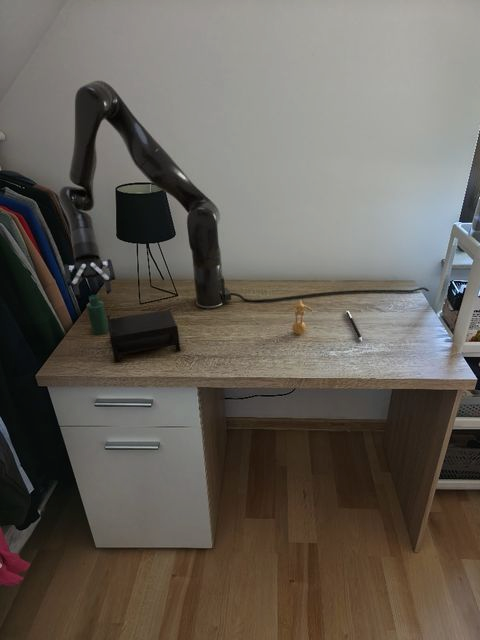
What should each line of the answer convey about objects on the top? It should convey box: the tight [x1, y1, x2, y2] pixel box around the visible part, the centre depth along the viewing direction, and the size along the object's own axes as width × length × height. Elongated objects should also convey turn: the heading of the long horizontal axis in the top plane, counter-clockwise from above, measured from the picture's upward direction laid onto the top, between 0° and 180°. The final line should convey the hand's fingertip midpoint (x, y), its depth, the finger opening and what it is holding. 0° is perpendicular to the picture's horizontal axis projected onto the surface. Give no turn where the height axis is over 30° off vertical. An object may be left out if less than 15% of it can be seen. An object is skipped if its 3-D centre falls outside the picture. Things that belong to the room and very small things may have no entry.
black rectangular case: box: [106, 309, 181, 363], centre depth 137 cm, size 18×13×8 cm
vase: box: [86, 294, 109, 335], centre depth 144 cm, size 5×5×12 cm
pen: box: [346, 310, 363, 342], centre depth 146 cm, size 1×19×1 cm, turn 4°
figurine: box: [284, 299, 315, 335], centre depth 140 cm, size 8×6×12 cm
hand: (93, 294), depth 146 cm, fingers open, 8 cm apart
